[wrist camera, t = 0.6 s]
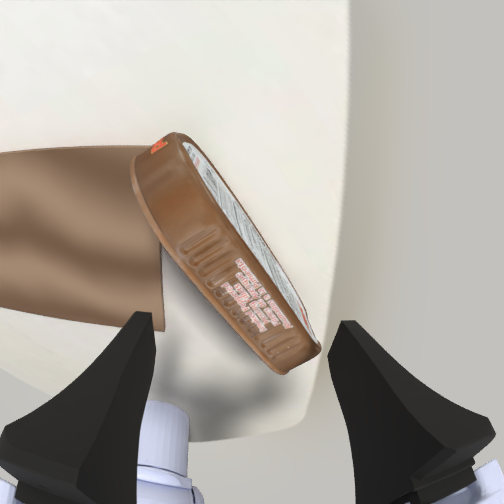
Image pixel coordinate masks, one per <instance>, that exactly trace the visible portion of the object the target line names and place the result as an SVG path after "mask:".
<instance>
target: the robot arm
mask: <svg viewBox="0 0 504 504" xmlns="http://www.w3.org/2000/svg"><path fill="white" fill-rule="evenodd" d="M155 356H156V345H155V337H154V328H153V319H152V312H142V311H135V312H134V313H133V314H132V316H131V317H130V318H129V320H128V321H127V322H126V324H125V325H124V326H123V328H122V329H121V330H120V331H119V333H118V334H117V335H116V337H115V338H114V339H113V340H112V341H111V342H110V344H109V345H108V346H107V347H106V348H105V350H104V351H103V352H102V353H101V354H100V355H99V356H98V357H97V358H96V359H95V361H94V362H93V363H92V364H91V365H90V366H89V367H88V368H87V369H86V370H85V371H84V372H83V373H82V374H81V375H80V376H79V377H78V378H76V379H75V380H74V381H73V382H72V383H71V384H70V385H68V386H67V387H66V388H65V389H64V390H62V391H61V392H60V393H59V394H57V395H56V396H55V397H53V398H52V399H51V400H49V401H48V402H46V403H45V404H43V405H42V406H40V407H39V408H37V409H36V410H34V411H33V412H31V413H29V414H28V415H26V416H24V417H22V418H20V419H18V420H16V421H14V422H12V423H11V424H9V425H7V426H5V428H4V430H3V432H2V434H1V437H0V466H1V467H2V468H3V469H5V470H6V471H7V472H8V473H9V474H11V475H12V476H13V477H15V478H16V479H17V480H18V484H17V487H16V486H15V485H13V484H11V483H9V482H7V481H5V480H3V479H1V478H0V504H204V499H203V496H202V494H201V492H200V491H199V490H198V489H197V487H194V486H192V485H191V483H192V479H189V478H187V465H188V464H187V463H188V440H189V420H190V419H189V416H188V415H187V413H186V412H184V411H183V410H182V409H180V408H179V407H176V406H174V405H172V404H169V403H165V402H161V401H155V400H147V398H148V393H149V389H150V385H151V381H152V377H153V372H154V364H155ZM328 362H329V368H330V373H331V378H332V381H333V385H334V388H335V391H336V394H337V397H338V400H339V403H340V406H341V409H342V412H343V415H344V419H345V422H346V426H347V430H348V434H349V440H350V446H351V452H352V459H353V467H354V478H355V496H356V504H504V476H503V473H502V471H501V469H500V466H499V464H498V462H497V460H496V459H493V460H491V461H490V462H488V463H487V464H485V465H483V466H481V467H479V468H478V469H476V470H475V471H473V469H472V467H471V466H473V465H474V464H475V461H474V458H473V457H474V456H475V455H476V454H477V453H479V452H480V451H481V450H482V449H483V448H484V447H485V446H487V445H488V444H489V443H490V442H491V441H492V440H493V439H494V437H495V435H496V433H495V431H494V429H493V427H492V425H491V423H490V421H489V419H488V418H487V417H485V416H482V415H480V414H477V413H474V412H472V411H469V410H467V409H465V408H463V407H461V406H459V405H457V404H455V403H453V402H451V401H450V400H448V399H446V398H444V397H443V396H441V395H440V394H438V393H436V392H435V391H433V390H432V389H430V388H429V387H427V386H426V385H425V384H423V383H422V382H420V381H419V380H418V379H417V378H415V377H414V376H413V375H412V374H411V373H409V372H408V371H407V370H406V369H405V368H404V367H402V366H401V365H400V364H399V363H398V362H397V361H396V360H395V359H394V358H393V357H392V356H391V355H389V354H388V353H387V352H386V351H385V350H384V349H383V348H382V347H381V346H380V345H379V344H378V343H377V342H376V341H375V340H374V339H373V338H372V337H371V336H370V335H369V334H368V333H367V332H366V331H365V330H364V329H363V328H362V327H361V326H360V325H359V324H358V323H357V322H356V321H355V320H352V321H351V320H349V321H341V323H340V325H339V328H338V331H337V333H336V336H335V338H334V341H333V343H332V346H331V348H330V351H329V353H328Z"/></svg>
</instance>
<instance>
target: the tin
mask: <svg viewBox="0 0 504 504" xmlns="http://www.w3.org/2000/svg"><path fill="white" fill-rule="evenodd" d="M130 175H131V181H132V186H133V190H134V193H135V195H136V198H137V200H138V203H139V205H140V207H141V209H142V211H143V213H144V216H145V218H146V219H147V221H148V223H149V225H150V227H151V228H152V230H153V232H154V234H155V235H156V236H157V238H158V240H159V242H160V243H161V244H162V246H163V247H164V249H165V250H166V251H167V252H168V254H169V255H170V256H171V258H172V259H173V260H174V262H175V263H176V264H177V265H178V266H179V268H180V269H181V270H182V271H183V272H184V273H185V275H186V276H187V277H188V278H189V279H190V281H191V282H192V283H193V284H194V285H195V286H196V287H197V289H198V290H199V291H200V292H201V293H202V294H203V296H204V297H205V298H206V299H207V300H208V301H209V303H210V304H211V305H212V306H213V307H214V308H215V309H216V310H217V312H218V313H219V314H220V315H221V316H222V317H223V318H224V319H225V320H226V321H227V323H228V324H229V325H230V326H231V327H232V328H233V329H234V331H235V332H236V333H237V334H238V335H239V336H240V337H241V338H242V339H243V340H244V341H245V343H246V344H247V345H248V346H249V347H250V348H251V349H252V350H253V351H254V352H255V353H256V354H257V355H258V356H259V358H260V359H261V360H262V361H263V362H264V363H265V364H266V365H267V366H268V367H269V368H270V369H272V370H273V371H274V372H276V373H278V374H280V375H285V374H287V373H288V372H289V371H290V370H291V369H293V368H295V367H297V366H299V365H301V364H303V363H305V362H307V361H309V360H310V359H312V358H314V357H315V356H317V355H318V354H319V353H320V352H321V344H320V342H319V341H318V340H317V339H316V337H315V335H314V333H313V330H312V328H311V326H310V323H309V321H308V317H307V312H306V309H305V307H304V305H303V303H302V301H301V299H300V298H299V296H298V294H297V292H296V290H295V289H294V287H293V285H292V283H291V282H290V280H289V278H288V277H287V275H286V273H285V272H284V270H283V269H282V267H281V265H280V264H279V262H278V261H277V259H276V258H275V256H274V255H273V253H272V251H271V250H270V248H269V247H268V245H267V244H266V242H265V240H264V239H263V237H262V236H261V234H260V233H259V231H258V229H257V228H256V226H255V225H254V223H253V222H252V220H251V219H250V217H249V216H248V214H247V213H246V211H245V210H244V208H243V207H242V205H241V204H240V202H239V201H238V199H237V198H236V197H235V195H234V194H233V192H232V191H231V189H230V188H229V187H228V185H227V184H226V182H225V181H224V179H223V178H222V176H221V175H220V174H219V172H218V171H217V170H216V168H215V167H214V165H213V164H212V163H211V161H210V160H209V159H208V158H207V156H206V155H205V154H204V152H203V151H202V150H201V149H200V148H199V146H198V145H197V144H196V143H195V142H194V141H193V140H192V139H191V138H190V137H188V136H187V135H185V134H181V133H176V132H172V133H170V134H168V135H166V136H165V137H163V138H162V139H160V140H159V141H158V142H156V143H155V144H154V145H152V146H151V147H150V148H149V149H147V150H146V151H144V152H143V153H140V154H137V155H135V156H134V157H133V158H132V160H131V163H130Z"/></svg>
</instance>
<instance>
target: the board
mask: <svg viewBox="0 0 504 504" xmlns="http://www.w3.org/2000/svg"><path fill="white" fill-rule="evenodd" d="M150 147H151V146H79V147H59V148H44V149H31V150H21V151H11V152H2V153H0V307H4V308H8V309H13V310H18V311H23V312H28V313H33V314H38V315H43V316H49V317H55V318H61V319H67V320H73V321H79V322H86V323H93V324H100V325H108V326H116V327H123V326H124V325H125V324H126V322H127V321H128V320H129V318H130V317H131V316H132V314H133V313H134V312H135V311H142V312H152V319H153V328H154V331H162V332H164V330H165V318H164V303H163V286H162V262H161V243H160V242H159V240H158V238H157V236H156V235H155V234H154V232H153V230H152V228H151V227H150V225H149V223H148V221H147V219H146V218H145V216H144V213H143V211H142V209H141V207H140V205H139V203H138V200H137V198H136V195H135V193H134V190H133V186H132V181H131V175H130V163H131V160H132V158H133V157H134V156H135V155H137V154H140V153H143V152H144V151H146V150H147V149H149V148H150Z"/></svg>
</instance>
